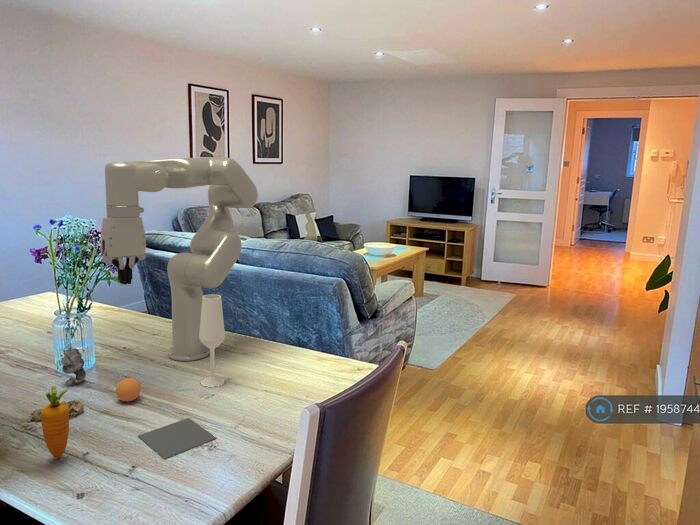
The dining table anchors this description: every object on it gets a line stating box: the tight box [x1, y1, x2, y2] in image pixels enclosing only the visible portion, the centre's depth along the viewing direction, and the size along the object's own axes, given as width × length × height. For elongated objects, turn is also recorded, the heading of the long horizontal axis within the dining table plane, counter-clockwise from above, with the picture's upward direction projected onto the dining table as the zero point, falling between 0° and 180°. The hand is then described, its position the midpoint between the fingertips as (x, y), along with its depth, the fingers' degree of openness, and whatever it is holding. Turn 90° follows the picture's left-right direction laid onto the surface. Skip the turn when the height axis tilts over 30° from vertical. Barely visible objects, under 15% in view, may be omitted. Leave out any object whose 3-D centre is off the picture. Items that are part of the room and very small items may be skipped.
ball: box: [115, 377, 142, 402], centre depth 127 cm, size 6×6×6 cm
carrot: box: [41, 385, 70, 460], centre depth 100 cm, size 5×5×15 cm
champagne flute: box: [199, 294, 226, 387], centre depth 138 cm, size 7×7×24 cm
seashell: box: [60, 346, 87, 385], centre depth 135 cm, size 5×5×10 cm
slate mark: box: [137, 417, 218, 460], centre depth 111 cm, size 12×12×1 cm
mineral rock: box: [30, 400, 85, 423], centre depth 119 cm, size 11×4×8 cm
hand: (125, 283), depth 133 cm, fingers closed
